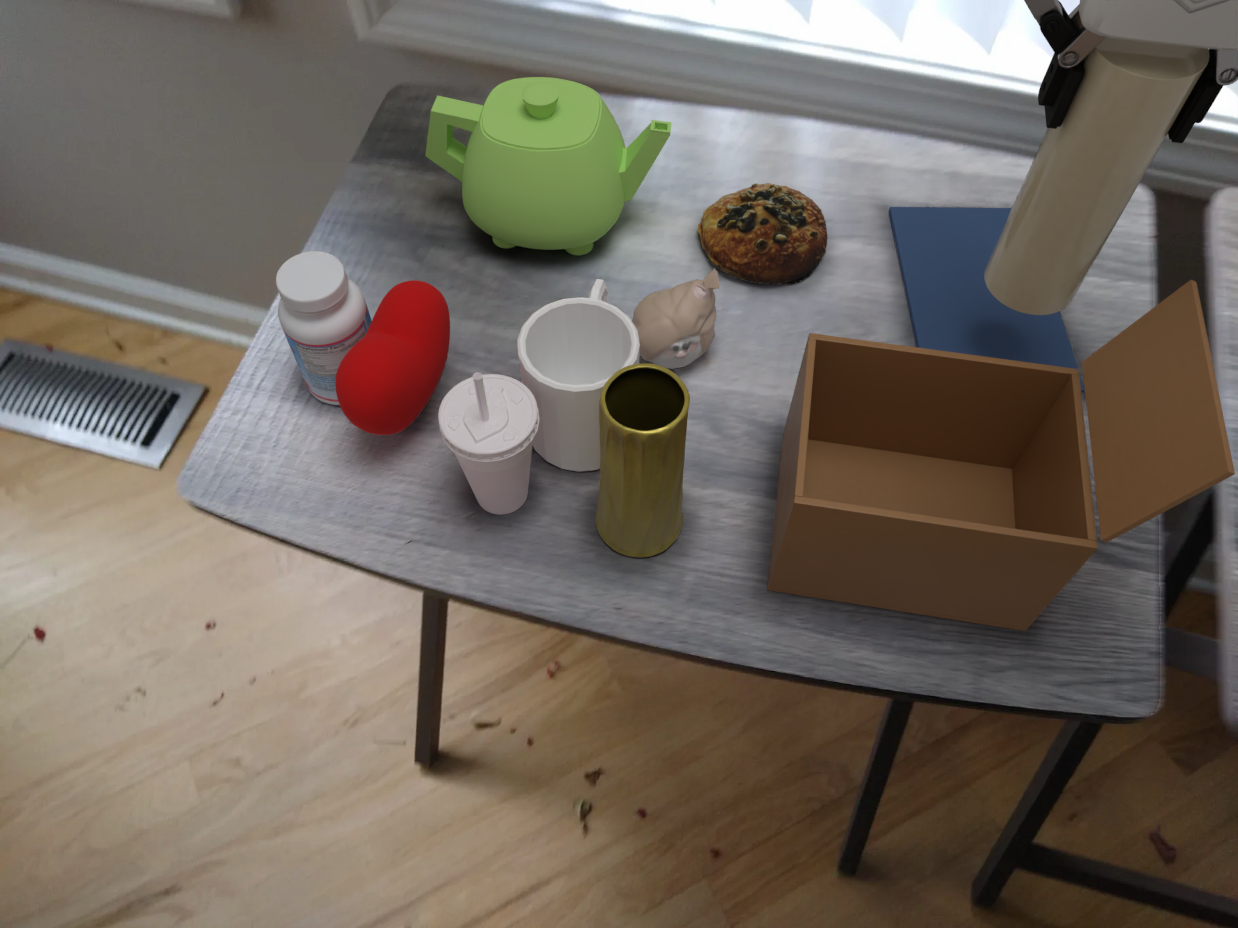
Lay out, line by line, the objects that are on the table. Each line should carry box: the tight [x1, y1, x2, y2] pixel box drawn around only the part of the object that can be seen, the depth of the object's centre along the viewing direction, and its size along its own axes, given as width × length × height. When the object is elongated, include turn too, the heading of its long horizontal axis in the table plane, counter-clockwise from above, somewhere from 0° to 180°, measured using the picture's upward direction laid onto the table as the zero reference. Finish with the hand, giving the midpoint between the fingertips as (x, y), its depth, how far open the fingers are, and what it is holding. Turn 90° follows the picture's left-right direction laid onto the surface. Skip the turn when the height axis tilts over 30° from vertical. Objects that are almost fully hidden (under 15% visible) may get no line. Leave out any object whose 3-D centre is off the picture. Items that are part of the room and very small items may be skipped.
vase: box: [594, 362, 691, 558], centre depth 63 cm, size 6×6×14 cm
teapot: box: [424, 76, 672, 256], centre depth 80 cm, size 20×13×13 cm
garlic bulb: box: [631, 268, 720, 369], centre depth 74 cm, size 7×6×8 cm
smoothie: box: [437, 372, 540, 516], centre depth 64 cm, size 6×6×14 cm
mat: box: [888, 206, 1085, 395], centre depth 80 cm, size 20×12×1 cm, turn 0°
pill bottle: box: [275, 250, 372, 406], centre depth 71 cm, size 6×6×11 cm
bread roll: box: [697, 182, 828, 286], centre depth 83 cm, size 11×11×5 cm
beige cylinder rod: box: [984, 37, 1210, 315], centre depth 63 cm, size 6×6×19 cm
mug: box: [516, 278, 641, 473], centre depth 70 cm, size 8×12×10 cm
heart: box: [335, 279, 451, 436], centre depth 70 cm, size 12×5×10 cm, turn 160°
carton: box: [767, 332, 1099, 632], centre depth 64 cm, size 17×13×12 cm
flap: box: [1081, 279, 1236, 543], centre depth 54 cm, size 8×13×1 cm
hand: (1112, 119), depth 59 cm, fingers closed on beige cylinder rod, 6 cm apart
